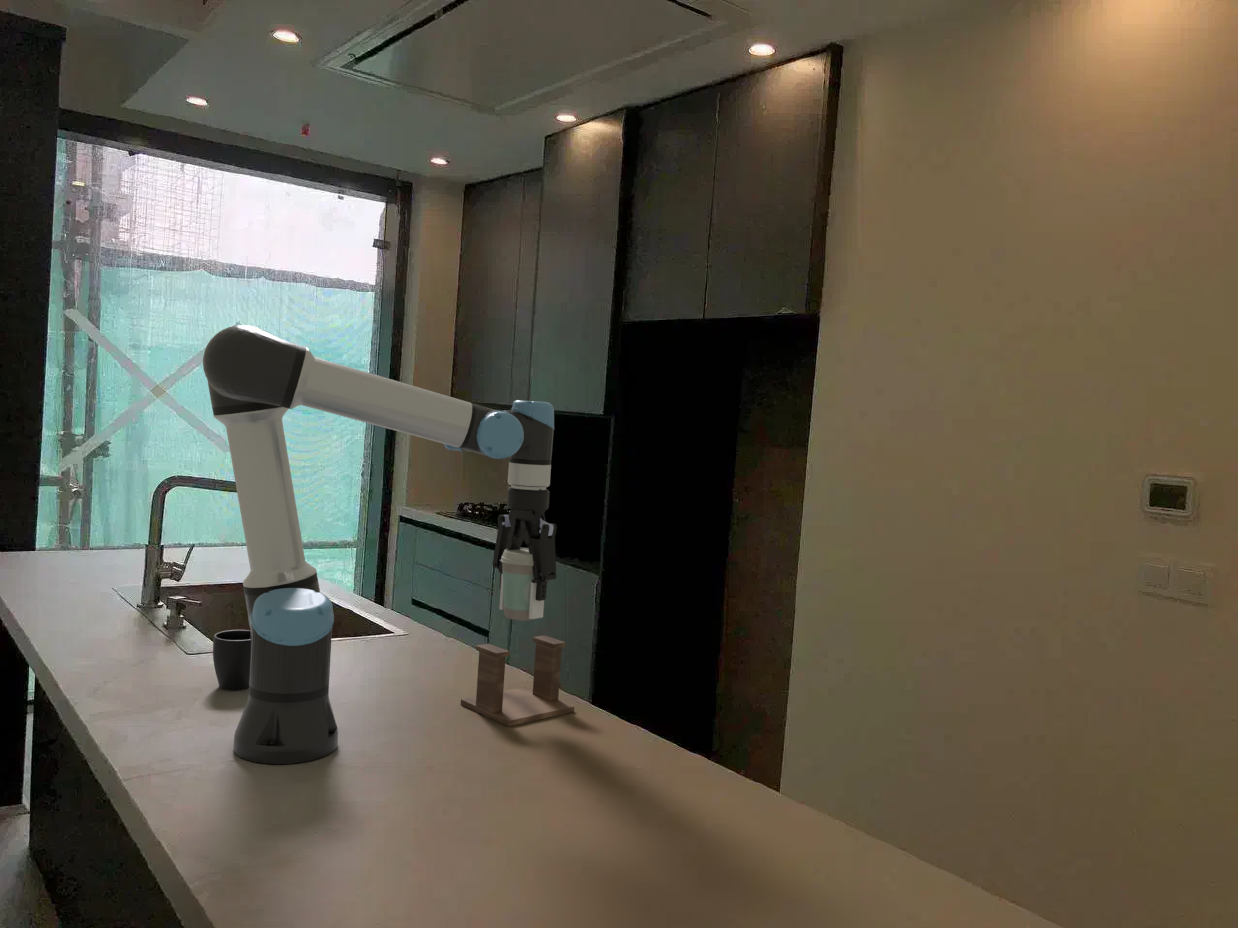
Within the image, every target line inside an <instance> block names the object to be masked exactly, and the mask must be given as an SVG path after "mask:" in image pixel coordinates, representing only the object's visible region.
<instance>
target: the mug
mask: <svg viewBox="0 0 1238 928" xmlns="http://www.w3.org/2000/svg"><path fill="white" fill-rule="evenodd" d="M212 641H213V642H212V643H213V644H212V659H213V666H214V670H215V675H216V679H217V682H218V687H219V689H221V690H224V691H231V692H236V691H238V692H239V691H244V690H249V677H250V657H251V631H250V629H230V630H223V631H219V632H216V633H215V634H214V635H213V640H212Z"/></svg>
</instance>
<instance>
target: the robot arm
mask: <svg viewBox="0 0 1238 928" xmlns="http://www.w3.org/2000/svg"><path fill="white" fill-rule="evenodd" d="M204 349H205V350H204V354H203V356H202V367H203V373H204V375H205V377H206V380H207V385H208V391H209V397H210V402H211V408H212V413H213V414H212V415H213V417H214V418H215V419H216V420H217V421H218V422H220V423H221V424H223V425H224V427H225V430H226V435H227V440H228V447H229V452H230V458H231V465H232V470H233V475H234V481H235V487H236V494H237V499H238V505H239V511H240V517H241V522H242V528H243V534H244V539H245V545H246V552H247V557H248V562H249V569H250V572H249V573H248V574H247V576H246V578H245V579H244V580H243V581H242V587H243V592H244V598H245V599H244V600H245V604H246V610H247V617H248V618H247V619H248V625H249V630H250V631H251V657H250V677H249V689H248V698H247V701H246V704H245V706H244V709H243V711H242V714H241V717H240V719H239V722H238V724H237V726H236V729H235V732H234V735H233V736H234V737H233V738H234V739H233V752H234V753H235V754H236V756H238V757H240V758H241V759H244V760H247V761H249V762H250V761H251V762H254V763H260V764H270V765H273V764H274V765H284V764H285V765H287V764H297V763H298V764H299V763H305V762H309V761H310V762H311V761H314V760H318V759H321V758H323V757H325V756H329V754H332V753H333V752H334V751H335V750H336V749H337V748H338V740H339V729H338V725H337V722H336V719H335V718H336V717H335V714H334V711H333V707H332V704H331V701H330V697H329V694H330V692H329V691H330V677H331V676H330V675H331V674H330V673H331V671H330V670H331V655H332V653H331V652H332V634H333V626H334V621H335V616H334V615H335V614H334V609H333V608H334V607H333V603H332V601H331V599H330V598H329V597H328V596H327V595H326V594H324V593H322V592H321V589H320V583H319V578H318V572H317V568H316V567H314V566H313V565H311V564H310V563H308V562H307V561H306V558H305V552H304V551H305V550H304V545H303V540H302V533H301V526H300V520H299V514H298V509H297V503H296V497H295V496H296V495H295V491H294V485H293V478H292V473H291V467H290V460H289V454H288V449H287V444H286V443H287V442H286V437H285V431H284V430H285V429H284V423H283V417H284V415H285V414H286V413H287V412H288V410H293V409H294V408H297V407H298V406H303V407H306V408H310V409H315V410H318V411H322V412H325V413H329V414H333V415H336V416H340V417H344V418H348V419H352V420H355V421H359V422H362V423H366V424H370V425H373V426H376V427H381V428H385V429H388V430H392V431H396V432H399V433H403V434H406V435H410V436H414V437H417V438H420V439H421V438H422V439H425V440H429V441H432V442H437V443H440V444H443V446H444V448H445V449H446V450H449V451H458V452H460V453H463V452H472V453H475V454H480V455H483V456H486V457H488V458H490V459H495V460H501V459H506V458H509V459H508V460H509V461H508V474H507V475H508V476H507V484H508V485H510V486H509V487H508V488H507V495H506V507H507V508H508V509H510V511H509V514H499V515H498V516H497V526H498V527H497V534H496V540H495V544H494V545H495V547H494V551H493V552H494V553H493V558H492V567H493V568H495V569H498V573H499V574H500V575H499V590H500V591H499V592H500V594H499V595H500V596H499V597H500V598H499V607H498V608H499V610H501V611H505V610H504V590H503V570H502V562H501V559H502V558H501V557H502V556H503V553H504V550H505V549H509V550H518V549H520V548H522V545H523V543H524V544H525V545H526V546H527V548H528V549H529V554H532V557H533V567H532V569H533V575H534V580H531V581H532V582H531V589H530V605H529V619H534V620H536V619H542V618H544V609H545V608H544V606H545V601H546V599H547V587H548V583H549V582H550V581H555V580H556V578H557V561H556V560H557V559H556V557H557V556H556V533H557V524H556V523H549V522H547V521H546V517H545V512H546V511H547V510H548V509H549V507H550V506H549V505H550V491H549V489H547V488H548V487H550V486H551V470H552V455H553V442H554V431H555V409H554V406H553V404H552V403H550V402H548V401H538V400H537V401H535V400H534V401H533V400H521V399H520V400H519V399H516V400H514V401H513V402H512V407H511V408H510V409H507V410H505V409H504V410H501V409H495V408H494V409H493V408H489V407H487V406H483V405H479V404H476V403H472V402H470V401H465V400H463V399H459V398H456V397H452V396H449V395H447V394H446V395H445V394H442V393H438V392H435V391H431V390H429V389H425V388H422V387H419V386H416V385H412V384H408V383H404V382H402V381H398V380H395V379H391V378H389V377H386V376H385V377H384V376H381V375H377V374H375V373H371V372H369V371H368V372H367V371H364V370H360V369H357V368H354V367H351V366H346V365H344V364H341V363H336V362H334V361H330V360H327V359H323V358H319V357H316V356H314V354H313V353H312V352H311V350H310V349H309V347H305V346H303V345H299V344H296V343H293V342H290V341H289V340H285V339H283V338H281V337H278V336H276V335H274V334H272V333H269V332H267V331H265V330H264V329H262V328H260V327H256V326H254V325H253V326H252V325H248V324H243V325H242V324H239V325H238V324H237V325H233V326H232V325H231V326H228V327H226V328H224V329H221V330H220V331H218V332H216V333H215V335H214V336H213V337H212V338H211V339H210V340H209V342H207V345H206V346H205V348H204ZM540 573H541V575H540Z"/></svg>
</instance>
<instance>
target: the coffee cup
mask: <svg viewBox="0 0 1238 928" xmlns="http://www.w3.org/2000/svg"><path fill="white" fill-rule="evenodd" d="M501 558H502V559H500V561H501V562H502V570H503V590H504V610H503V611H504V617H505V618H507V619H510V620H512V621H532V620H535V619H529V605H530V589H531V582H532V581H531V580H534V575H533V569H532V567H533V557H532V554H529V549H528V547H521V548H520V549H518V550H509V549H505V550H504V553H503V556H502V557H501ZM540 575H541V573H540Z"/></svg>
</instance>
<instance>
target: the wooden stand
mask: <svg viewBox="0 0 1238 928" xmlns="http://www.w3.org/2000/svg"><path fill="white" fill-rule="evenodd" d="M532 642H534V643H535V651H534V652H535V653H534V655H535V656H534V668H533V682H532V683H533V684H532V688H530V687H527V686H522V687H518V688H513V689H507V690H504V688H505V687H504V684H505V674H506V673H505V672H506V657H509V656H510V651H509V650H508V649H504V648H502V647H499V646H496V645H493V644H491V643H484V644H477V645H475V651H477V652H478V666H477V681H476V693H475V694H476V696H471V697H466V698H461V699H460V706H462V707H465V708H467V709H469V708H470V709H469V710H471V709H472V710H471V711H473V710H474V711H473V712H475V711H476V712H475V713H478V712H479V713H478V714H480V713H481V714H480V715H482V714H483V715H482V716H484V715H485V716H484V717H486V716H488V717H487V718H489V719H491V718H492V719H491V720H493V719H494V720H493V721H495V720H496V721H495V722H497V721H498V722H497V723H499V722H500V723H499V724H502V725H504V724H505V725H504V726H506V725H507V726H506V727H508V726H509V727H512V725H514V726H517V724H518V725H522V724H526V722H527V723H530V722H535V720H536V721H539V719H540V720H543V719H544V720H545V719H548V717H549V718H553V717H557V716H561V715H566V714H570V713H573V712H575V706H574V705H572V704H570V703H567V702H565V701H562V700H559V694H560V693H559V692H560V679H561V677H560V676H561V665H562V663H561V662H562V649H563V648H566V645H567V644H566V643H567V642H565V641H563V640H561V639H560V640H559V639H557V638H554V637H552V636H548V635H545V634H544V635H536V636H533V637H532Z"/></svg>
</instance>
